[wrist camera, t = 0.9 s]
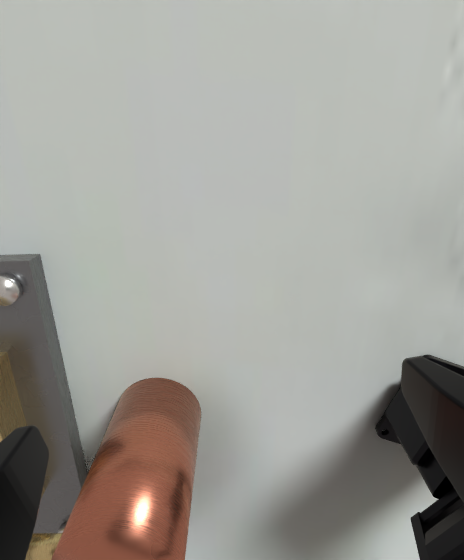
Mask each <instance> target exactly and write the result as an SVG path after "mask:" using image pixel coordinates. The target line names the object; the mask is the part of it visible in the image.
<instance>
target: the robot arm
mask: <svg viewBox="0 0 464 560" xmlns="http://www.w3.org/2000/svg"><path fill="white" fill-rule="evenodd" d="M375 429H376V432H377V434H378V436H379V437H381V438H383V439H386V440H390V441H393V442H396V443H399V444H402V446H403V448H404V450H405V452H406V453H407V455H408V457H409V459H410V461H411V463H412V464H413V465H416V466H417V468H418V470H419V472H420V473H421V475H422V477H423V479H424V481H425V482H426V484H427V486H428V488H429V490H430V492H431V493H432V495H433V497H435V498H437V499H438V500H437V501H436V502H434V503H433V504H432V505H430V506H429V507H428V508H427V509H425V510H424V511H423V512H421V513H420V512H418V513H416V514H415V515H414V516H412V517H411V522H412V527H413V531H414V536H415V540H416V544H417V549H418V553H419V557H420V560H464V367H463V366H460V365H457V364H454V363H451V362H449V361H446V360H443V359H440V358H437V357H434V356H431V355H424V356H422V357H421V356H417V357H412V358H406V359H405V360H403V363H402V377H401V388H400V389H399V391H398V392H397V394H396V395H395V397H394V399H393V400H392V402H391V403H390V405H389V406H388V408H387V409H386V411H385V413H384V415H383V416H382V418H381V419H380V421H379V422H378V424H377V425H376V428H375ZM384 429H386V430H385V431H382V430H384ZM48 461H49V450H48V447H47V445H46V443H45V441H44V439H43V437H42V435H41V433H40V431H39V429H38V427H36V426H35V425H29V426H24V427H19V428H16V429H15V430H14V431H12V432H11V433H10V434H9V435H8V436H7V437H6V438H4V439H3V440H2V441H1V442H0V560H25V558H26V554H27V551H28V548H29V545H30V541H31V538H32V535H33V531H34V528H35V524H36V520H37V515H38V511H39V506H40V501H41V496H42V491H43V486H44V481H45V476H46V471H47V466H48Z"/></svg>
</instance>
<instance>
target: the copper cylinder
mask: <svg viewBox="0 0 464 560" xmlns="http://www.w3.org/2000/svg"><path fill="white" fill-rule="evenodd" d="M200 421H201V408H200V405H199V402H198V400H197V398H196V397H195V395H194V394H193V393H192V392H191V391H190V390H189V389H188V388H186V387H185V386H183V385H182V384H180V383H178V382H175V381H173V380H169V379H164V378H149V379H144V380H141V381H138V382H136V383H134V384H133V385H131V386H130V387H128V388H127V389H126V390H125V391H124V393H123V394H122V396H121V398H120V400H119V402H118V405H117V407H116V409H115V412H114V414H113V416H112V419H111V421H110V423H109V426H108V428H107V430H106V433H105V435H104V437H103V440H102V442H101V444H100V447H99V449H98V451H97V454H96V456H95V458H94V461H93V463H92V465H91V468H90V470H89V472H88V475H87V477H86V479H85V482H84V484H83V486H82V489H81V491H80V493H79V496H78V498H77V500H76V503H75V505H74V507H73V510H72V512H71V514H70V517H69V519H68V521H67V524H66V526H65V528H64V531H63V533H33V535H32V538H31V541H30V545H29V548H28V551H27V554H26V558H25V560H185V552H186V543H187V535H188V526H189V517H190V508H191V500H192V491H193V482H194V473H195V465H196V456H197V447H198V438H199V430H200Z"/></svg>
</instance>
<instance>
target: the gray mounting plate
mask: <svg viewBox="0 0 464 560" xmlns="http://www.w3.org/2000/svg"><path fill="white" fill-rule="evenodd" d="M29 425H35V426H36V427H38V429H39V431H40V433H41V435H42V437H43V439H44V441H45V443H46V445H47V447H48V450H49V461H48V466H47V471H46V476H45V481H44V486H43V491H42V496H41V501H40V506H39V511H38V515H37V520H36V524H35V528H34V531H33V533H63V531H64V528H65V526H66V524H67V521H68V519H69V517H70V514H71V512H72V510H73V507H74V505H75V503H76V500H77V498H78V496H79V493H80V491H81V489H82V486H83V484H84V482H85V479H86V477H87V470H86V465H85V461H84V456H83V451H82V447H81V442H80V438H79V433H78V428H77V424H76V419H75V414H74V410H73V405H72V401H71V396H70V391H69V387H68V382H67V377H66V373H65V368H64V364H63V359H62V354H61V350H60V345H59V340H58V336H57V331H56V327H55V322H54V317H53V313H52V308H51V303H50V299H49V294H48V289H47V285H46V280H45V276H44V271H43V266H42V262H41V257H40V254H26V255H0V442H1V441H2V440H3V439H4V438H6V437H7V436H8V435H9V434H10V433H11V432H12V431H14V430H15V429H16V428H19V427H24V426H29Z"/></svg>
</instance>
